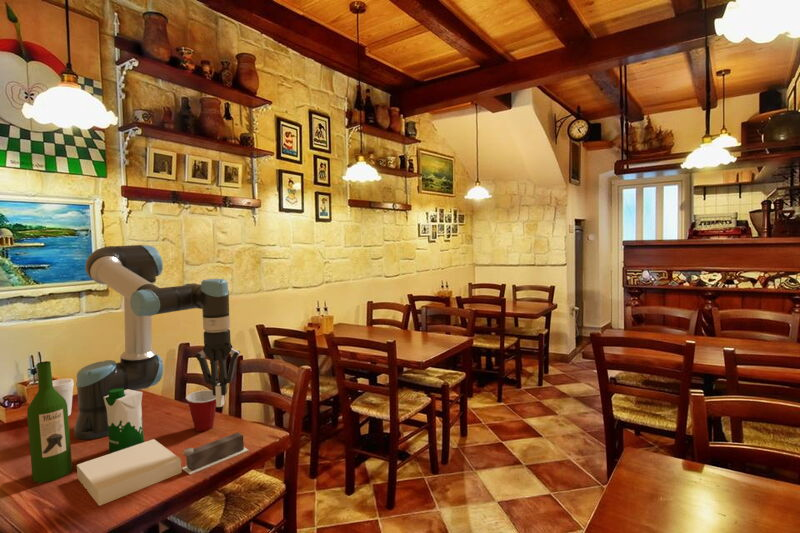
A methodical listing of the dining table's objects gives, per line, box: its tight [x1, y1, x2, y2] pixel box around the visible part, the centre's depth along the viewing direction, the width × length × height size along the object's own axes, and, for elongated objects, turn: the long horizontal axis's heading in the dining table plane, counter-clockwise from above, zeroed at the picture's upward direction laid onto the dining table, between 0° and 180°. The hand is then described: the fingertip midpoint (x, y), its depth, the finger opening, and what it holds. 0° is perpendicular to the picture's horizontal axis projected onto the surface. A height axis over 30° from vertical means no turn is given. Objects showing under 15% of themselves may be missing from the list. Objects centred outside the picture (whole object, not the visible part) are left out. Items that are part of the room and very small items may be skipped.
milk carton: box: [103, 388, 145, 454], centre depth 140 cm, size 9×9×20 cm
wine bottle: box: [26, 360, 73, 484], centre depth 125 cm, size 9×9×32 cm
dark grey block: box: [182, 431, 245, 470], centre depth 132 cm, size 17×3×6 cm, turn 139°
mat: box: [181, 446, 250, 476], centre depth 133 cm, size 5×18×1 cm, turn 139°
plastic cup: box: [185, 389, 217, 432], centre depth 155 cm, size 11×11×12 cm
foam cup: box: [52, 378, 75, 417], centre depth 169 cm, size 10×9×13 cm
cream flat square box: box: [76, 438, 183, 507], centre depth 125 cm, size 20×20×4 cm
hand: (220, 405), depth 137 cm, fingers closed
